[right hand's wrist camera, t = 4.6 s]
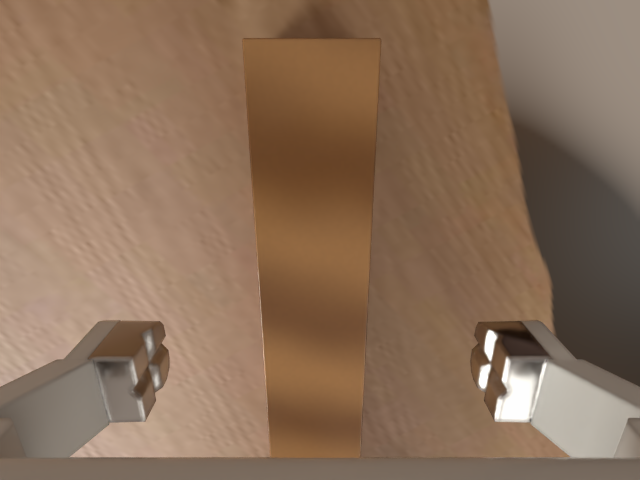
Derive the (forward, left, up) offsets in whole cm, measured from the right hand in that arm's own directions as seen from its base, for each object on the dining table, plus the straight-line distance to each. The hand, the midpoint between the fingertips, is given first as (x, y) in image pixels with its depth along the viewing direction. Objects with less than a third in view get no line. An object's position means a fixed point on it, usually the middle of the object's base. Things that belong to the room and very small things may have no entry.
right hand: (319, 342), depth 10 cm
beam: (+18, -21, -12) cm, 30 cm away
